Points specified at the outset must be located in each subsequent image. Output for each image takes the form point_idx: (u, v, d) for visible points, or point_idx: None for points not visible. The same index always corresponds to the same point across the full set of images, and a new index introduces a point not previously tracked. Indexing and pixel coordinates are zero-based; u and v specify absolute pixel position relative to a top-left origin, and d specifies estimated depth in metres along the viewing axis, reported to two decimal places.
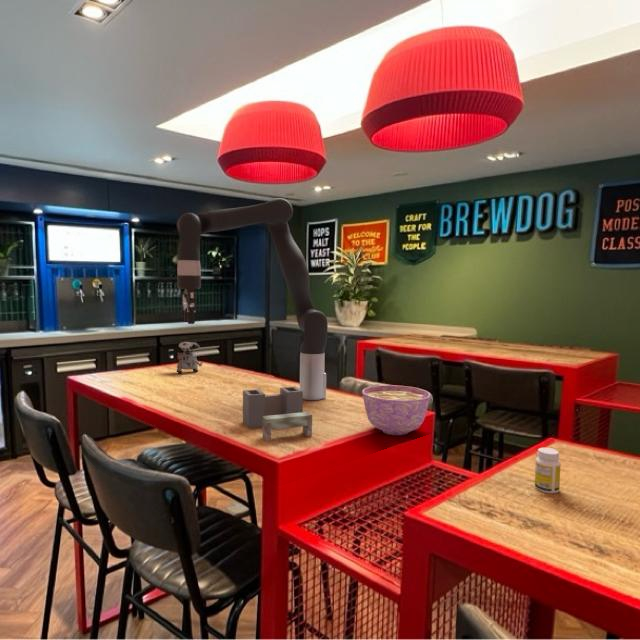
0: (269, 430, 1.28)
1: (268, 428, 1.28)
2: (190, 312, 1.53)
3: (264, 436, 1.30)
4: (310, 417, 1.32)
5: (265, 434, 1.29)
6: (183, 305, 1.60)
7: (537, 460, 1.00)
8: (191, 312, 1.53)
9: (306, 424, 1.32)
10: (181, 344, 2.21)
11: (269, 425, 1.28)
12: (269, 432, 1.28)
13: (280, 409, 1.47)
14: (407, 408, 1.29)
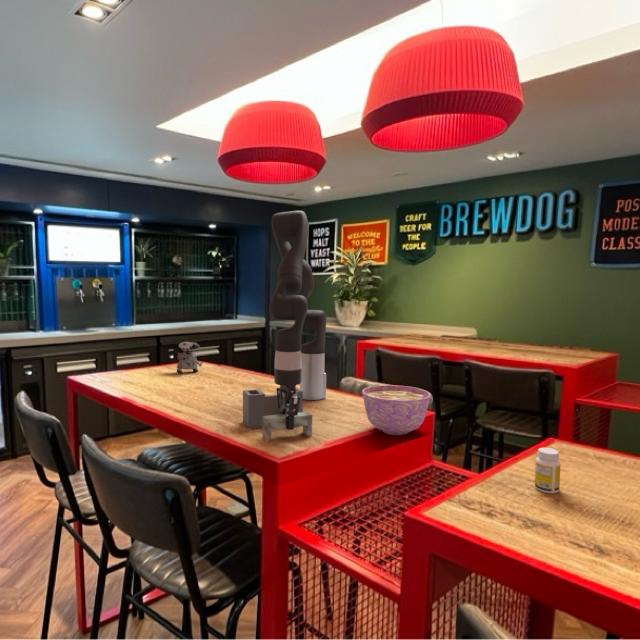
0: (269, 430, 1.28)
1: (268, 428, 1.27)
2: (290, 417, 1.28)
3: (264, 436, 1.30)
4: (310, 417, 1.32)
5: (265, 434, 1.29)
6: (280, 404, 1.32)
7: (537, 460, 1.00)
8: (291, 417, 1.29)
9: (306, 424, 1.32)
10: (181, 344, 2.21)
11: (269, 425, 1.28)
12: (269, 432, 1.28)
13: None
14: (407, 408, 1.29)
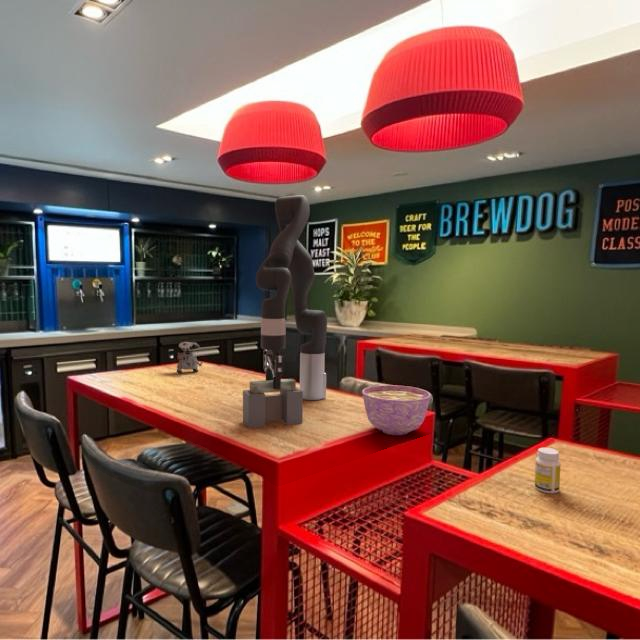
0: (255, 393, 1.40)
1: (255, 391, 1.40)
2: (276, 377, 1.39)
3: None
4: (293, 383, 1.45)
5: None
6: (265, 366, 1.45)
7: (537, 460, 1.00)
8: (277, 377, 1.39)
9: (290, 389, 1.44)
10: (181, 344, 2.21)
11: (255, 389, 1.40)
12: None
13: (280, 409, 1.47)
14: (407, 408, 1.29)
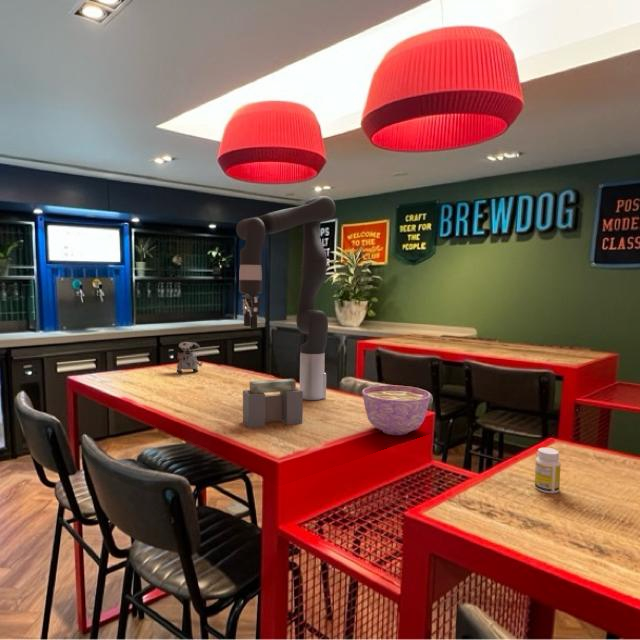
0: (255, 393, 1.40)
1: (255, 391, 1.40)
2: (253, 316, 1.53)
3: None
4: (293, 383, 1.45)
5: None
6: (243, 309, 1.60)
7: (537, 460, 1.00)
8: (254, 316, 1.53)
9: (290, 389, 1.44)
10: (181, 344, 2.21)
11: (255, 389, 1.40)
12: None
13: (280, 409, 1.47)
14: (407, 408, 1.29)
